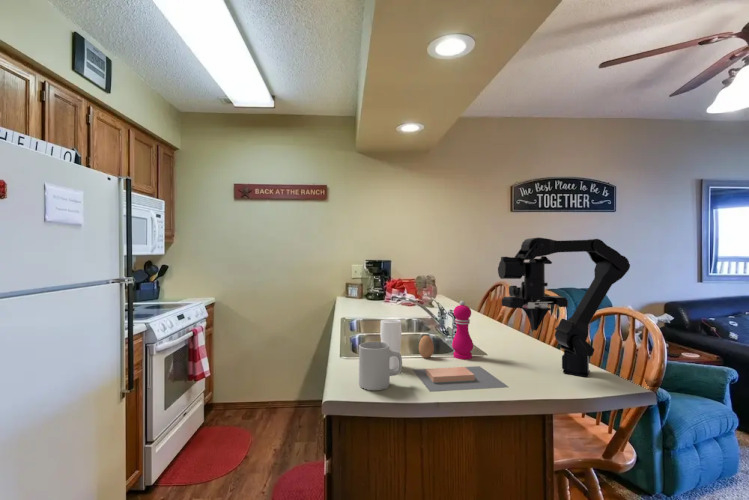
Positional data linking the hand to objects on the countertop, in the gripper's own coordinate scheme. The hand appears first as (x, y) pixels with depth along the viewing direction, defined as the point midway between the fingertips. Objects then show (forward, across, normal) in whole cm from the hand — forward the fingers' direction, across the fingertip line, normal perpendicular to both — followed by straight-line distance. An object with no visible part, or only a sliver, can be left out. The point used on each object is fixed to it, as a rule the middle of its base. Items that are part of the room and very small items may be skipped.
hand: (534, 330), depth 106 cm
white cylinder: (+13, +42, -11) cm, 46 cm away
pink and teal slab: (+12, +22, +1) cm, 25 cm away
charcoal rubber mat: (+13, +25, +1) cm, 29 cm away
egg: (+13, +28, -20) cm, 37 cm away
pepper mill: (+13, +16, -18) cm, 27 cm away
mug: (+13, +48, +3) cm, 50 cm away
